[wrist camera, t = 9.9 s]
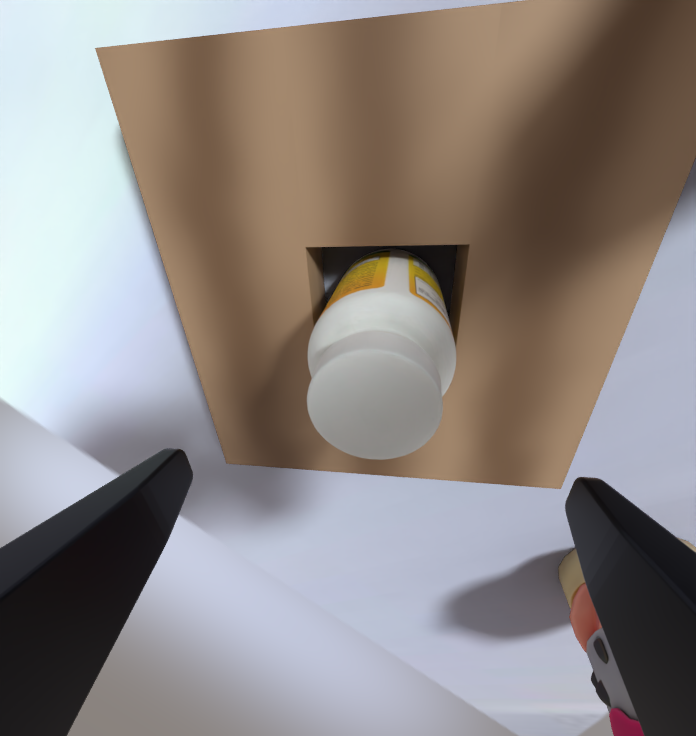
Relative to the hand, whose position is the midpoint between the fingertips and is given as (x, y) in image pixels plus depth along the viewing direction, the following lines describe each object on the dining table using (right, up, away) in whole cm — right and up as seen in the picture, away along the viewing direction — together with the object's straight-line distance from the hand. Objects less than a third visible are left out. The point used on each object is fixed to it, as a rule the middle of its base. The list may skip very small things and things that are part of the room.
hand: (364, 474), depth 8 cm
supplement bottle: (+2, +6, +10) cm, 12 cm away
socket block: (+2, +6, +10) cm, 12 cm away
